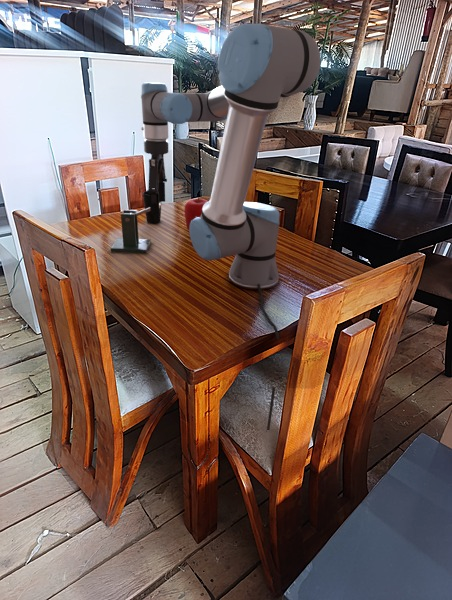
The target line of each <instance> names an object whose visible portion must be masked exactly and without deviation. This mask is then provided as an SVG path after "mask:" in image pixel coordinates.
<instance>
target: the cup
mask: <svg viewBox="0 0 452 600" xmlns="http://www.w3.org/2000/svg"><path fill="white" fill-rule="evenodd" d="M142 198H143V199H142V200H143V207H144V209H147V208H149V207H150V193H147V190H144V191H143V192H142ZM161 216H162V206H161V207H160V209H159V214H155V213H151V211H149V212H146V213H145V219H146V223H147V224H149V225H157V224H160V223H161V219H162V217H161Z"/></svg>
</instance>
